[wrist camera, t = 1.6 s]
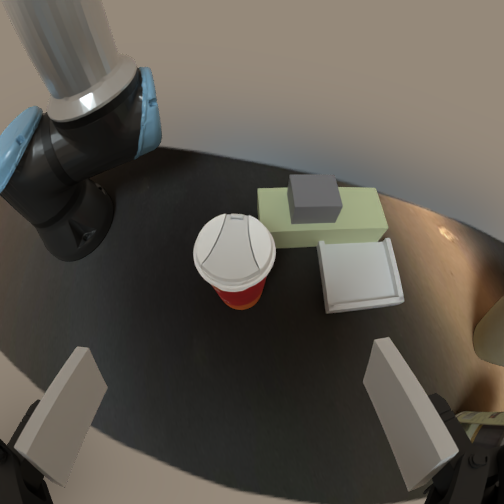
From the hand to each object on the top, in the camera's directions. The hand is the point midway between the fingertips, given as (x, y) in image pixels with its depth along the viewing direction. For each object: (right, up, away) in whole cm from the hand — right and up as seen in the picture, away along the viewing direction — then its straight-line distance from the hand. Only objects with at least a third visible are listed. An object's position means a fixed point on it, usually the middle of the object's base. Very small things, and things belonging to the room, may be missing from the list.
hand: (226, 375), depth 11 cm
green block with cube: (+12, +5, +28) cm, 31 cm away
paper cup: (0, 0, +26) cm, 26 cm away
